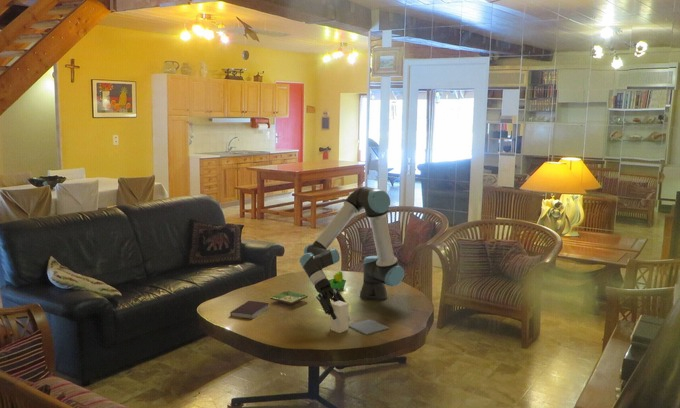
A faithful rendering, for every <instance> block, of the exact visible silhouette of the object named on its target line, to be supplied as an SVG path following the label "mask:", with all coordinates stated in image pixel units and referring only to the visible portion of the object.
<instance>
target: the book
mask: <svg viewBox="0 0 680 408" xmlns="http://www.w3.org/2000/svg"><path fill="white" fill-rule="evenodd" d="M269 304H270V303H269V302H263V301H254V300H248V301H246V302H245V303H242V304H241V305H239V306H238V307H236V308H235V309H233V310H232V311H230V313H229V314H230V317H233V316H236V317H235V318H239V317H242V318H241V319H245V320H246V319H247V320H254V319H255V318H257V317H258V316H259V315H261V314H262V313H264V312H265V311H266V310H268V309H270V307H269Z"/></svg>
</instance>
